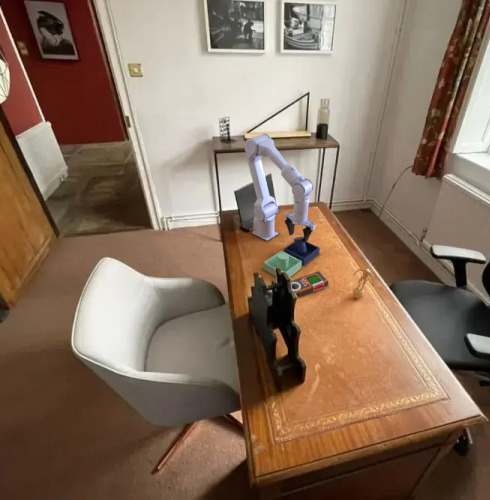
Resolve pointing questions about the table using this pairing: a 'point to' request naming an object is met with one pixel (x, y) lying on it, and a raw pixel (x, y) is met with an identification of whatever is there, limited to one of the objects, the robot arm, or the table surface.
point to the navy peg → (300, 245)
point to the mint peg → (283, 261)
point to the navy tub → (304, 257)
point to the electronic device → (309, 283)
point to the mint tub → (292, 265)
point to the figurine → (358, 291)
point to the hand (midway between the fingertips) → (298, 237)
